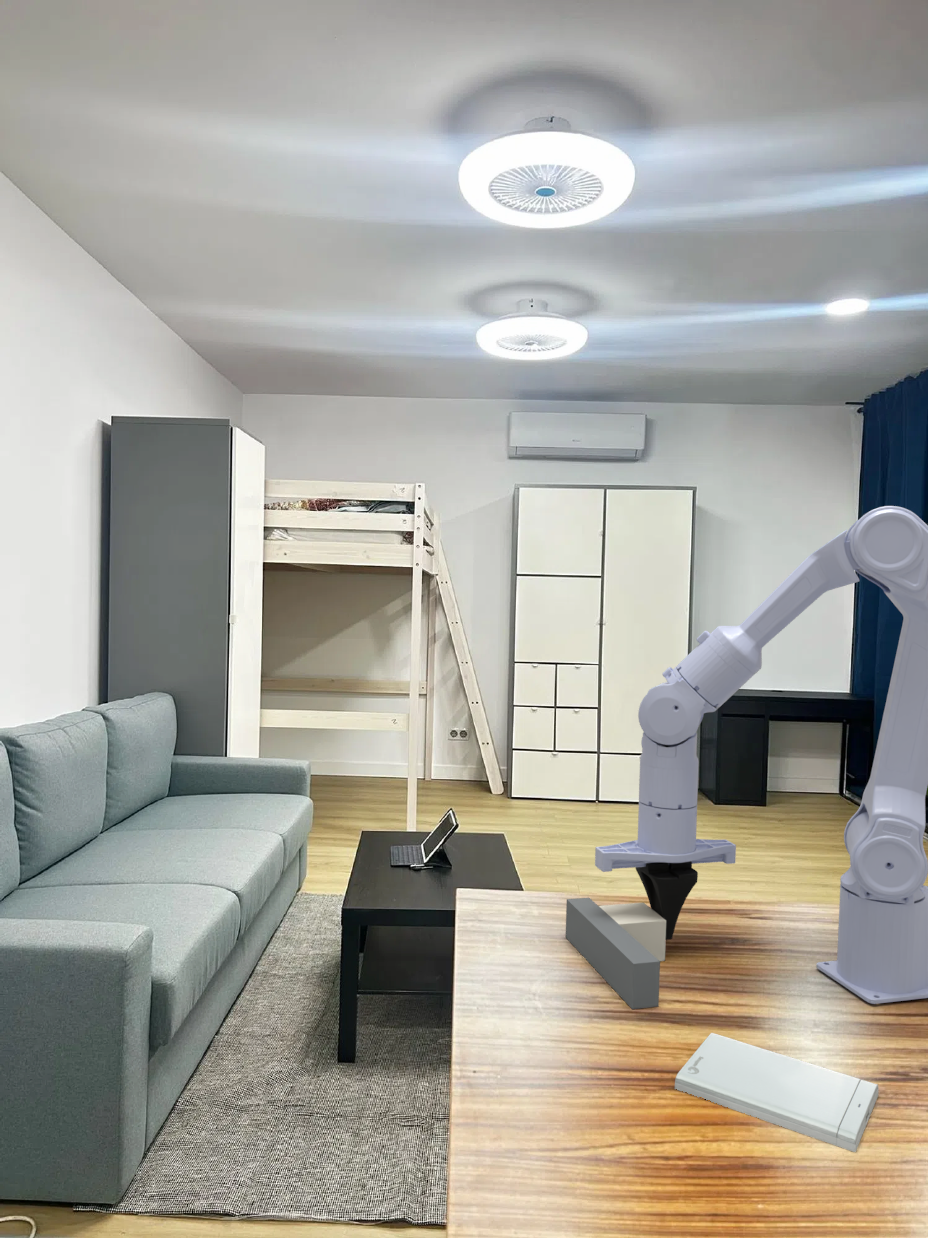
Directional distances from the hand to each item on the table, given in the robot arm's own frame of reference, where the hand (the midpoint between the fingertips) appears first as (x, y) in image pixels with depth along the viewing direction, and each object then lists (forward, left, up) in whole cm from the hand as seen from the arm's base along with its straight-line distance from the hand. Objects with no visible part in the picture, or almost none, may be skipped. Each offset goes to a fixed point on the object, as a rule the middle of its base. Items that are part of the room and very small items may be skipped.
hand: (663, 936), depth 91 cm
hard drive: (+4, +25, -2) cm, 25 cm away
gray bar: (+7, +3, -1) cm, 8 cm away
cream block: (+4, 0, -1) cm, 4 cm away
